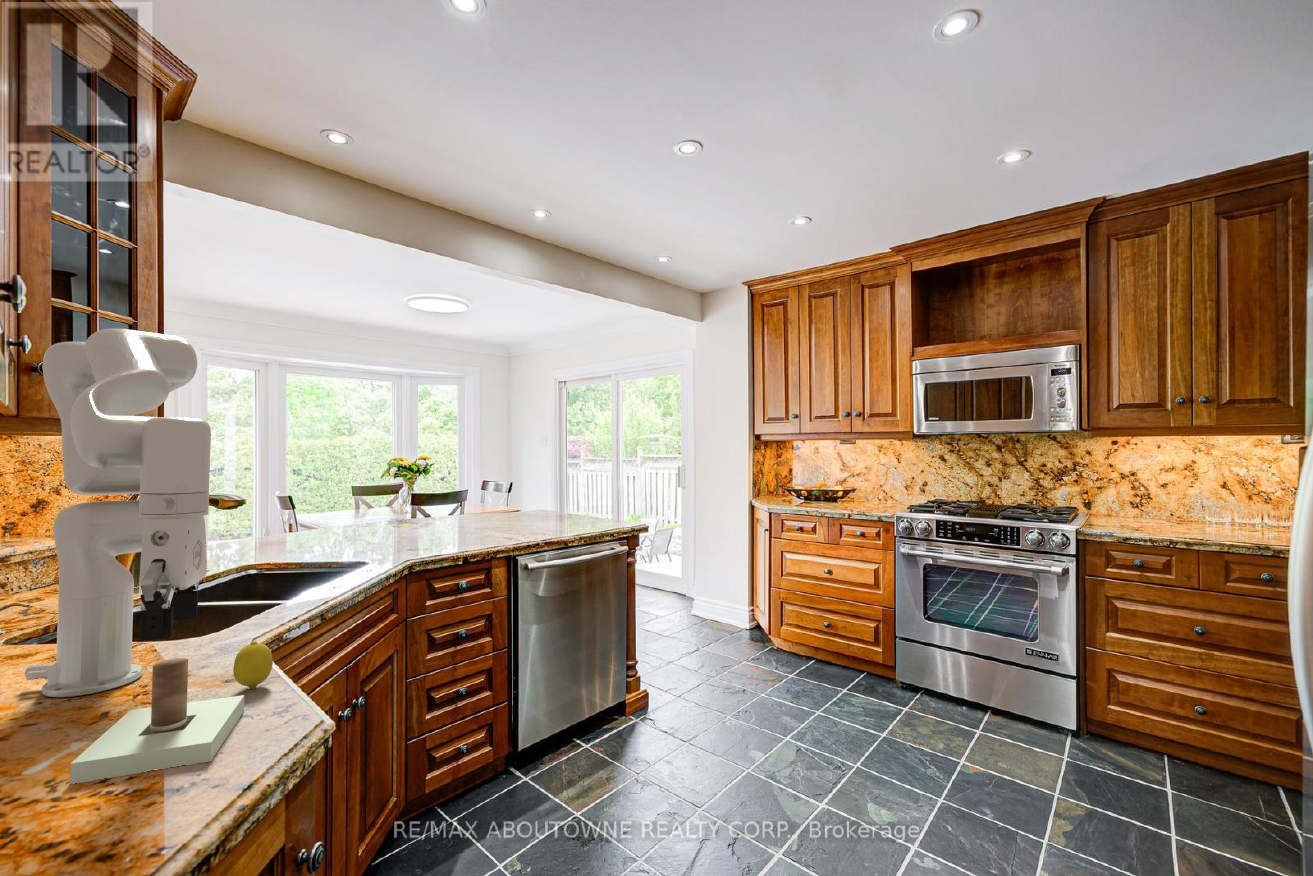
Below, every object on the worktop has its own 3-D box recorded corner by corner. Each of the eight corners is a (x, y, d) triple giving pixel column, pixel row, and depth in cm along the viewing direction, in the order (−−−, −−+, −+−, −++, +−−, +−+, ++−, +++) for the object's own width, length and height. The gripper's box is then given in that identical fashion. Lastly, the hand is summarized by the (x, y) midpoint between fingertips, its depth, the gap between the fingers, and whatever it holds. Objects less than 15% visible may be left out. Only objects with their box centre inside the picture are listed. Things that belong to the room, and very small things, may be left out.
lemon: (237, 685, 100) (238, 638, 101) (275, 680, 103) (276, 635, 103) (228, 697, 95) (229, 648, 96) (268, 692, 98) (269, 644, 98)
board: (69, 784, 70) (70, 763, 70) (129, 727, 85) (130, 710, 85) (210, 761, 75) (211, 742, 76) (243, 711, 90) (244, 695, 90)
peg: (144, 752, 78) (147, 669, 78) (156, 739, 81) (158, 660, 82) (180, 747, 79) (182, 665, 80) (190, 734, 83) (192, 656, 83)
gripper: (185, 510, 75) (181, 644, 74) (225, 500, 91) (222, 610, 90) (110, 512, 72) (105, 651, 71) (165, 501, 88) (161, 614, 87)
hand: (170, 628), depth 81 cm, fingers open, 9 cm apart
